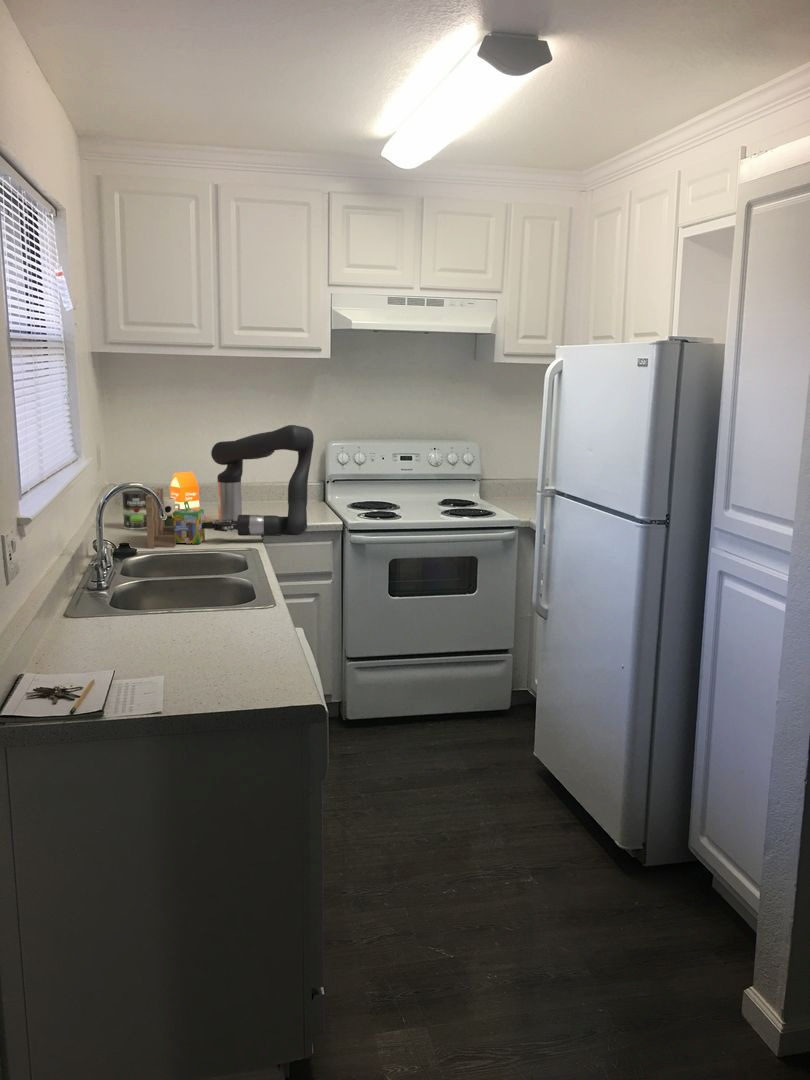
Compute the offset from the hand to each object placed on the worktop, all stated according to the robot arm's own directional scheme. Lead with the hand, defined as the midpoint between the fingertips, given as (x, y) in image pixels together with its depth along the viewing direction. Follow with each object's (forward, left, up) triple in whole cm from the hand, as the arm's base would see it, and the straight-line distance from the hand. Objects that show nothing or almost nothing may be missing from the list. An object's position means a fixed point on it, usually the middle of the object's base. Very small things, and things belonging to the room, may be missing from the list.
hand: (202, 525), depth 309 cm
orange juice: (-46, -13, -6) cm, 48 cm away
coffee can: (-31, -29, -6) cm, 43 cm away
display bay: (0, -13, -6) cm, 14 cm away
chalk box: (0, -5, -6) cm, 8 cm away
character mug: (-20, -16, -6) cm, 27 cm away
